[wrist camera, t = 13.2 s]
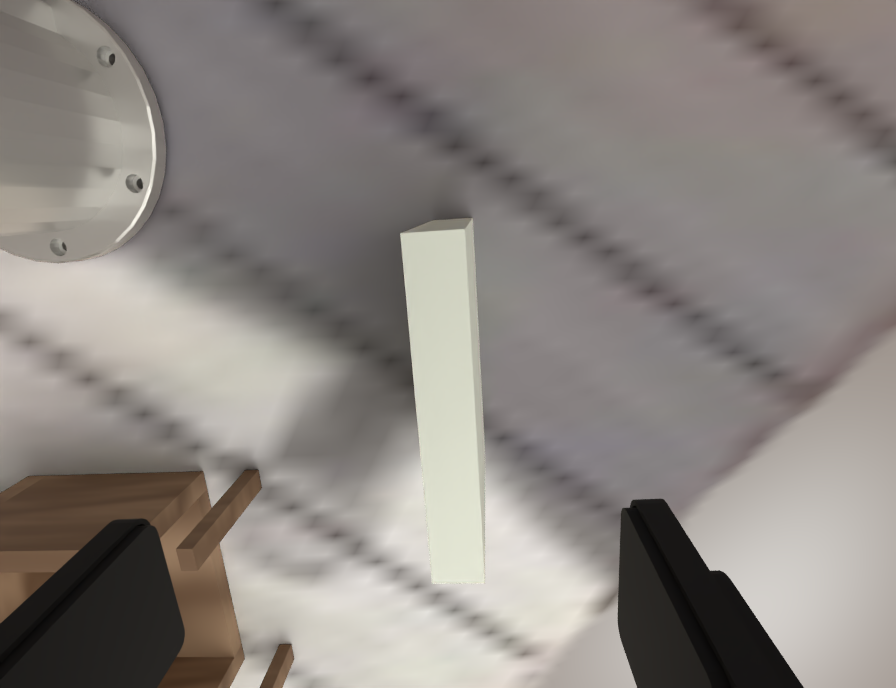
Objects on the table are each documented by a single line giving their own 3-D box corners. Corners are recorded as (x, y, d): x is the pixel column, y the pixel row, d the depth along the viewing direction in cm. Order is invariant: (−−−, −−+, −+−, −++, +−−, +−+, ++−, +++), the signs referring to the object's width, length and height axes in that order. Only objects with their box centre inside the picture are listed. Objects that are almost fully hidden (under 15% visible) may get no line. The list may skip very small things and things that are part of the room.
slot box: (28, 476, 31) (-98, 552, 24) (258, 469, 30) (192, 548, 23) (87, 657, 35) (-7, 767, 28) (294, 658, 34) (246, 774, 27)
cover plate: (432, 220, 25) (400, 233, 16) (472, 217, 25) (464, 228, 15) (449, 455, 29) (431, 583, 19) (485, 454, 29) (484, 583, 19)
